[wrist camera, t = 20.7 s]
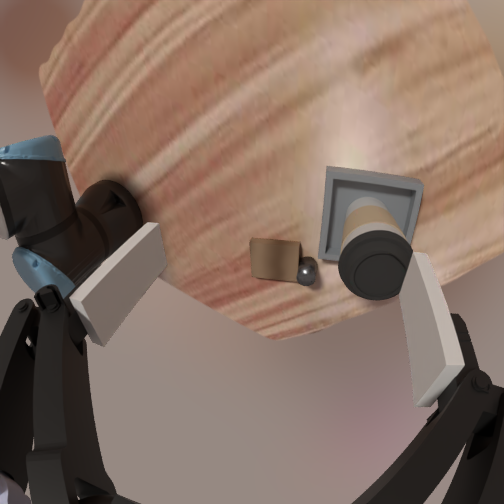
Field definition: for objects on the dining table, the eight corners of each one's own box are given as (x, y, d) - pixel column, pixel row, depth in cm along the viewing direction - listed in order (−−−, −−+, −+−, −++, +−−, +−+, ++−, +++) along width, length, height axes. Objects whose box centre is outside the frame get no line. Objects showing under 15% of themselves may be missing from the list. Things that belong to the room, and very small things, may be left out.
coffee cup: (365, 254, 44) (372, 321, 32) (325, 217, 42) (320, 278, 30) (407, 219, 39) (433, 279, 27) (368, 177, 37) (385, 224, 25)
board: (254, 270, 52) (251, 277, 51) (252, 236, 49) (249, 242, 47) (298, 274, 51) (297, 281, 49) (300, 240, 47) (298, 246, 45)
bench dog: (298, 270, 49) (295, 284, 46) (300, 255, 48) (297, 269, 44) (316, 272, 49) (314, 287, 45) (317, 257, 47) (316, 272, 44)
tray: (318, 250, 46) (317, 258, 44) (326, 165, 39) (326, 170, 37) (400, 260, 43) (402, 268, 41) (419, 179, 36) (424, 185, 34)
